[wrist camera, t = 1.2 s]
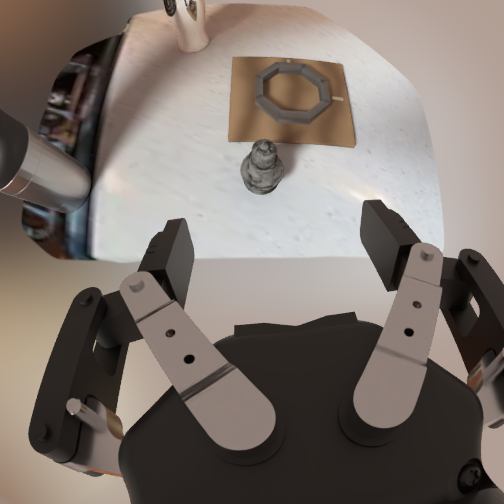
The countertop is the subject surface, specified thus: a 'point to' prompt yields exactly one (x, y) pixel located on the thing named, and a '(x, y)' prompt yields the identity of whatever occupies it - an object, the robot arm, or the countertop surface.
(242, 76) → the socket plate
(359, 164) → the countertop surface
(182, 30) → the beer glass
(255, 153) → the grey turned stone piece
